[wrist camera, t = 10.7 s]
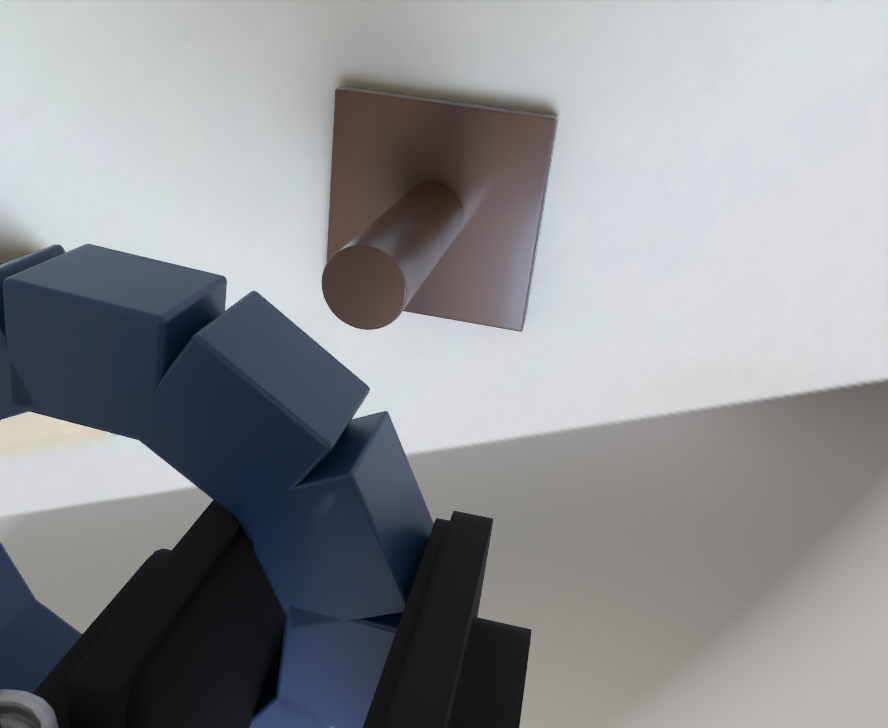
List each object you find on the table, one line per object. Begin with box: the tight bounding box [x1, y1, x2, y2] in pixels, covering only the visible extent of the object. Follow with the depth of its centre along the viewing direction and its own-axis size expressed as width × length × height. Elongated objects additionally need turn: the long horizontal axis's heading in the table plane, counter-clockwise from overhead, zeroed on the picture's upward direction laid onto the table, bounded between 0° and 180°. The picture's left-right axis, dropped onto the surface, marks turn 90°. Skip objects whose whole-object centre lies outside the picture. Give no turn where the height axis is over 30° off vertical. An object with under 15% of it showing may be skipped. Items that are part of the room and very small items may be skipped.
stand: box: [322, 87, 558, 331], centre depth 26 cm, size 8×8×10 cm
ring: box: [0, 244, 434, 728], centre depth 11 cm, size 8×8×2 cm
